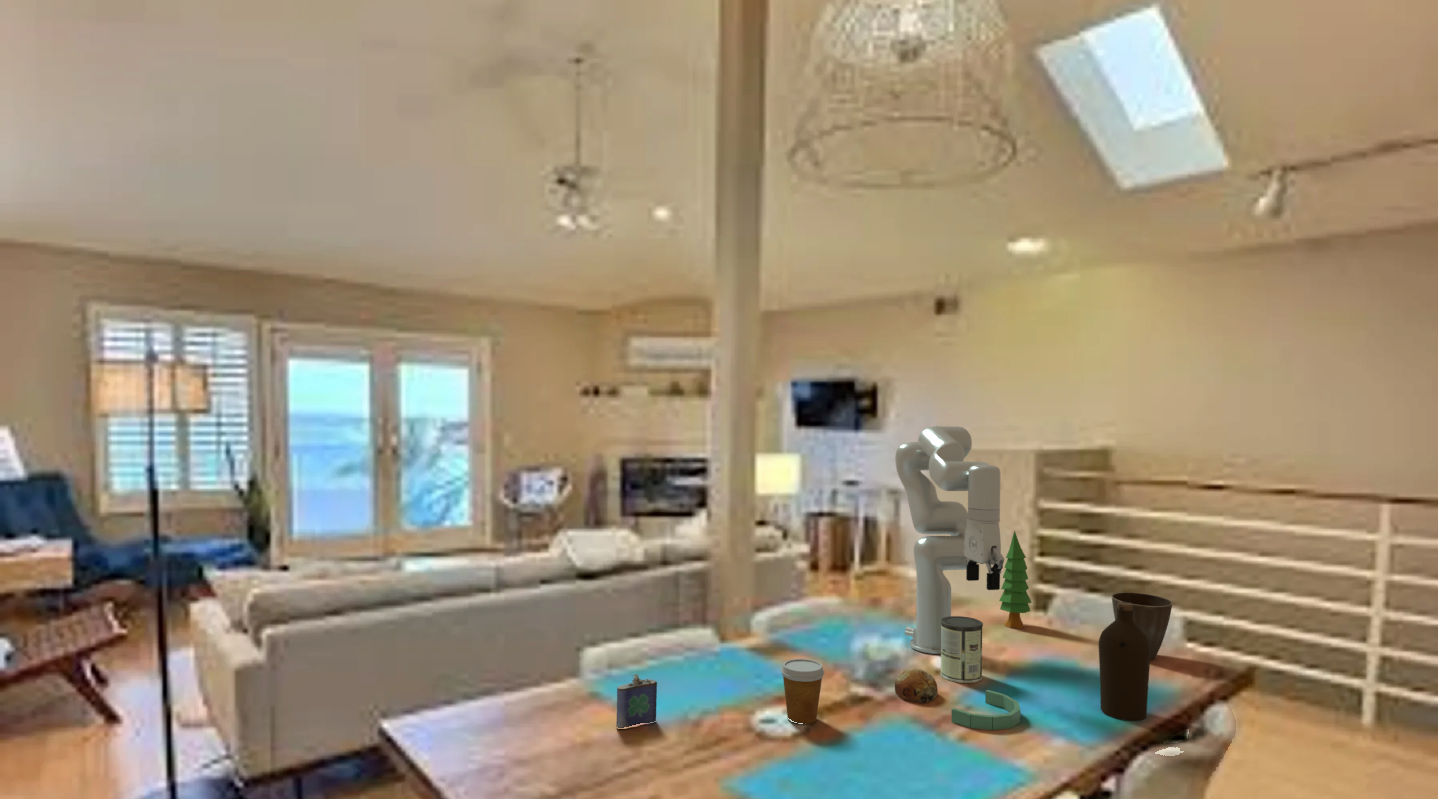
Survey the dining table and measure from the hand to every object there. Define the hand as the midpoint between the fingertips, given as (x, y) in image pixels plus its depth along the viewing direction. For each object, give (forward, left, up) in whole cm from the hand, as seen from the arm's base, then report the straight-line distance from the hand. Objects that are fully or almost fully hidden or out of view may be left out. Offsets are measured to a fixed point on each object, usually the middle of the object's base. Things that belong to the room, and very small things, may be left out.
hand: (982, 584), depth 202 cm
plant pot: (+20, +54, -25) cm, 63 cm away
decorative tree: (-18, +58, -25) cm, 66 cm away
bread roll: (-8, -17, -26) cm, 32 cm away
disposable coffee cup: (-18, -48, -25) cm, 57 cm away
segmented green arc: (+11, -17, -25) cm, 32 cm away
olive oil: (+30, +8, -25) cm, 40 cm away
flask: (-41, -76, -25) cm, 90 cm away
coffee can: (-7, +3, -25) cm, 27 cm away
